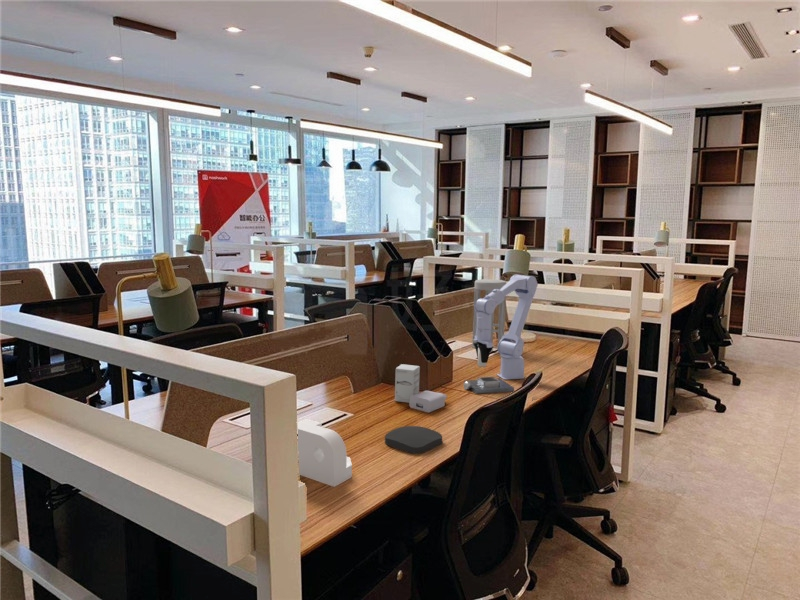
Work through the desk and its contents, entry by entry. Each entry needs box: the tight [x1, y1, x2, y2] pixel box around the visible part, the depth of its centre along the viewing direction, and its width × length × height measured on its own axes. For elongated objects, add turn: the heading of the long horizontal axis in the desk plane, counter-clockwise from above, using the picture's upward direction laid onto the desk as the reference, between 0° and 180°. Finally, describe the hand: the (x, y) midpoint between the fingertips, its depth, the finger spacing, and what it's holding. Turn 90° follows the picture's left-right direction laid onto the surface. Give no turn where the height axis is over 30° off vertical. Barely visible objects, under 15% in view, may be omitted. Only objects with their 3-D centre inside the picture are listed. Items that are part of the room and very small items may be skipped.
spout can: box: [477, 344, 487, 368], centre depth 242 cm, size 4×4×9 cm
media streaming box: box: [384, 425, 443, 455], centre depth 181 cm, size 15×15×3 cm
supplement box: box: [394, 363, 421, 404], centre depth 221 cm, size 7×7×13 cm
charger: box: [408, 390, 448, 414], centre depth 216 cm, size 5×9×15 cm
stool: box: [471, 278, 507, 352], centre depth 306 cm, size 16×16×35 cm
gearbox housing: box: [463, 376, 515, 395], centre depth 238 cm, size 18×13×4 cm
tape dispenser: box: [297, 418, 353, 488], centre depth 159 cm, size 16×10×13 cm, turn 56°
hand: (482, 361), depth 242 cm, fingers closed on spout can, 4 cm apart
